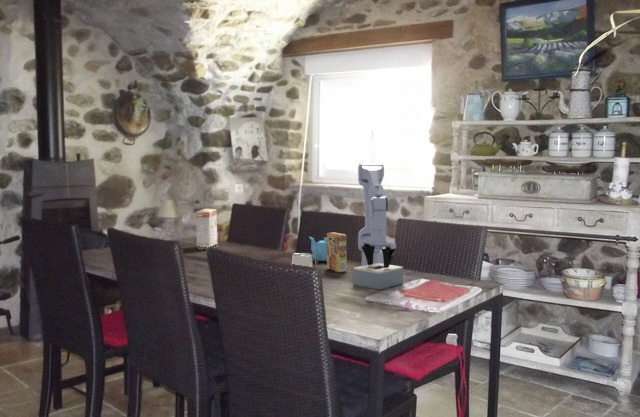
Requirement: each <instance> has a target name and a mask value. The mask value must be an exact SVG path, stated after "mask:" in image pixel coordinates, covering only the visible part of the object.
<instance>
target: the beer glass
mask: <svg viewBox="0 0 640 417" xmlns="http://www.w3.org/2000/svg"><path fill="white" fill-rule="evenodd" d="M312 254H313V253H309V252H298V253H292V254H291V257H292V258H291V265H292V264H295V265H302V266H309V267H313V262H312Z"/></svg>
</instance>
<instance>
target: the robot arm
mask: <svg viewBox="0 0 640 417" xmlns="http://www.w3.org/2000/svg"><path fill="white" fill-rule="evenodd" d="M357 167H358V168H357V173H358V174H357V176H358V185H360V186H362V188H363V191H364V193H363V194H364V226H363V228H361V229H360V230H359V232H358V237H357V248H358V250H359V251H361V266H364V265H373V264H374V263H382V264H384V268H388V267H389V265H391V260H392V257H393V255H394V253H395V252H396V248H397V244H396V242H391V241H387V216H388V215H387V213H388V211H389V198H388V196H387V195H385V189H384V186H383V185H382V182H383V181H384V180H383V179H384V177H385V167H384V164H383V163H359V164H358V166H357Z"/></svg>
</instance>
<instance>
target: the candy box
mask: <svg viewBox="0 0 640 417" xmlns="http://www.w3.org/2000/svg"><path fill="white" fill-rule="evenodd" d="M326 238H327V262H326V263H327V265H326V266H327V268H328V269H327V268H326V269H327V270H329V269H331V270H330V271H333V270H334V272H337V273H342V272H347V271H348V270H347V267H348V266H347V235H346V234H345V233H339V232H334V231H333V232H327V233H326Z"/></svg>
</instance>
